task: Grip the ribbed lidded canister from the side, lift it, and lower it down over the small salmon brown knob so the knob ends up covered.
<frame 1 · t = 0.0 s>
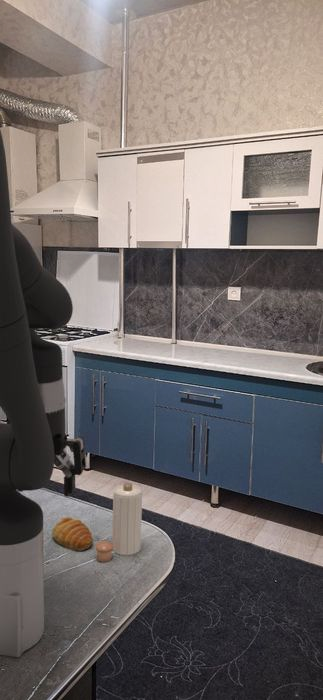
hand: (45, 491, 87), 17 cm above the table, tool pointing down, fingers open, 8 cm apart
salmon brown knob: (104, 557, 98), on the table
ribbed lidded canister: (126, 547, 102), on the table
pastry: (73, 541, 105), on the table
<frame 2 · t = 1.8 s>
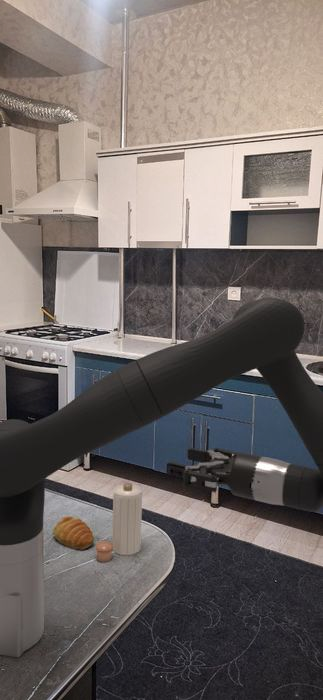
hand: (178, 460, 93), 21 cm above the table, tool horizontal, fingers open, 8 cm apart
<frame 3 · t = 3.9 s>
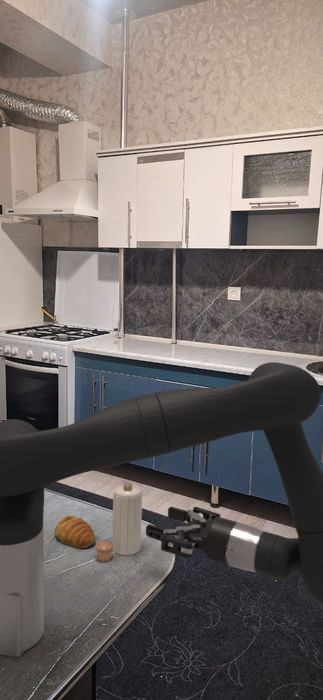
hand: (158, 520, 97), 8 cm above the table, tool horizontal, fingers open, 8 cm apart
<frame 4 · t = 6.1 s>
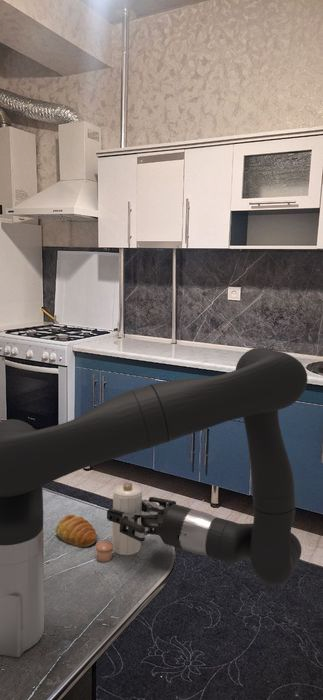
hand: (117, 507, 102), 8 cm above the table, tool horizontal, fingers closed on ribbed lidded canister, 5 cm apart
ribbed lidded canister: (126, 547, 102), on the table, touching gripper
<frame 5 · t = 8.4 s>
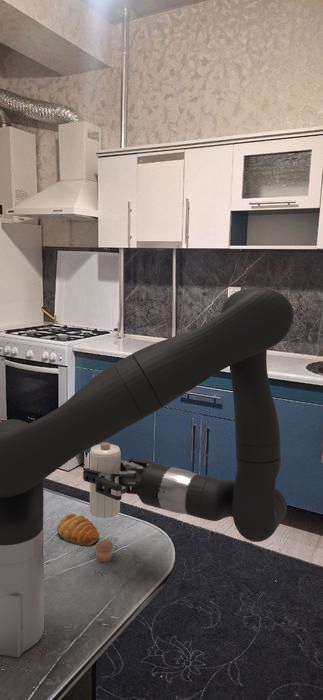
hand: (94, 469, 97), 18 cm above the table, tool horizontal, fingers closed on ribbed lidded canister, 5 cm apart
ribbed lidded canister: (104, 510, 97), point 10 cm above the table, touching gripper
when the fingers open (9 cm above the table, at t = 10.8 s): ribbed lidded canister drops 1 cm, on the table.
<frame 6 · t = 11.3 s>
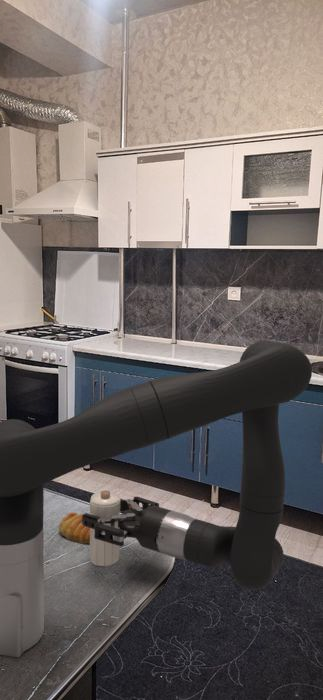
hand: (96, 509, 98), 10 cm above the table, tool horizontal, fingers open, 8 cm apart
ribbed lidded canister: (104, 557, 98), on the table
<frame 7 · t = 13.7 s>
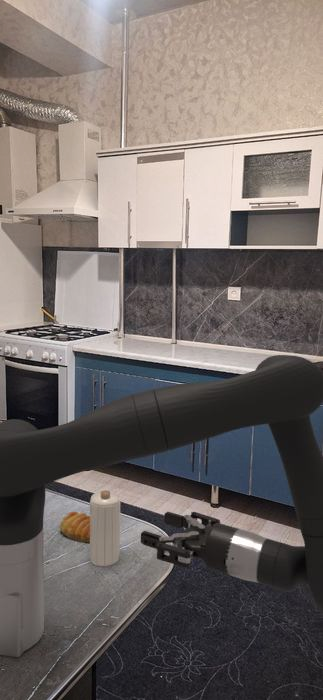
hand: (153, 526, 91), 10 cm above the table, tool horizontal, fingers open, 8 cm apart
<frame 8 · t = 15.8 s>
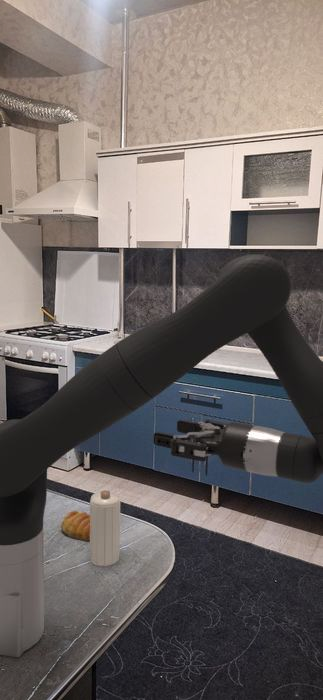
hand: (166, 431, 88), 28 cm above the table, tool horizontal, fingers open, 8 cm apart
at the end: ribbed lidded canister 0.1 cm from the salmon brown knob (horizontally); ribbed lidded canister on the table; ribbed lidded canister tilted 0° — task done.
